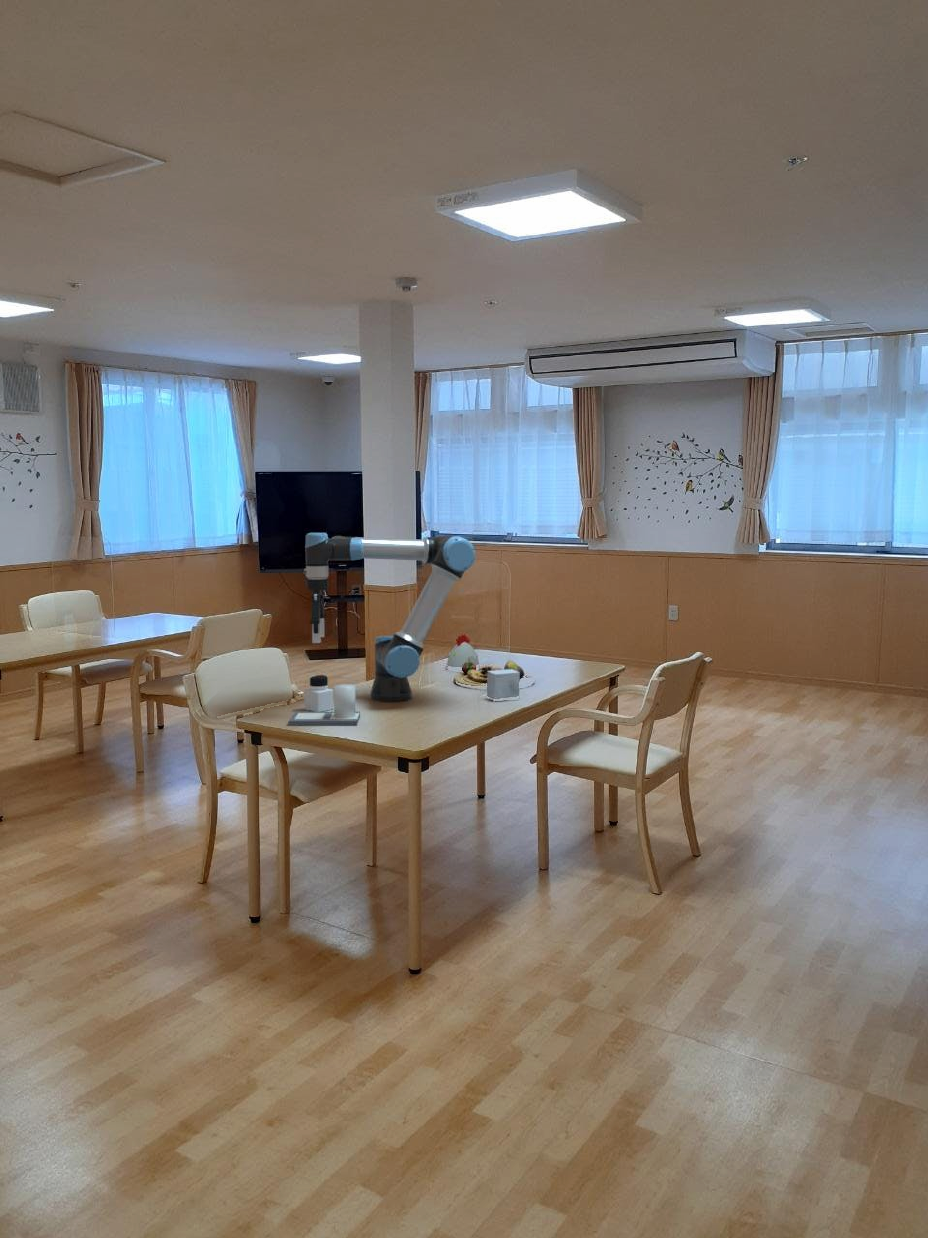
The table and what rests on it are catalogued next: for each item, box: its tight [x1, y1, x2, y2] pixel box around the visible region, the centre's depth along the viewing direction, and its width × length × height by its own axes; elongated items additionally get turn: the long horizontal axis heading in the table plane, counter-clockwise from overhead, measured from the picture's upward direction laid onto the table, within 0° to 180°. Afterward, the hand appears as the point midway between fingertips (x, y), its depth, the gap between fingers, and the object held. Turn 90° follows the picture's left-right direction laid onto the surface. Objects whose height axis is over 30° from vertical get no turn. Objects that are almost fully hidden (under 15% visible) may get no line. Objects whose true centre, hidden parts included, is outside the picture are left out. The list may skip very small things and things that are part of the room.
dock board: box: [288, 711, 361, 727], centre depth 336 cm, size 22×14×2 cm, turn 91°
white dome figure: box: [446, 634, 480, 667], centre depth 431 cm, size 14×14×15 cm
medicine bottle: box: [304, 674, 334, 712], centre depth 352 cm, size 7×7×12 cm
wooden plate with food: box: [453, 660, 533, 686], centre depth 402 cm, size 32×32×8 cm
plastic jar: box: [333, 683, 356, 718], centre depth 335 cm, size 7×7×10 cm
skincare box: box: [486, 669, 520, 699], centre depth 370 cm, size 10×6×10 cm, turn 115°
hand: (318, 639), depth 349 cm, fingers open, 13 cm apart
